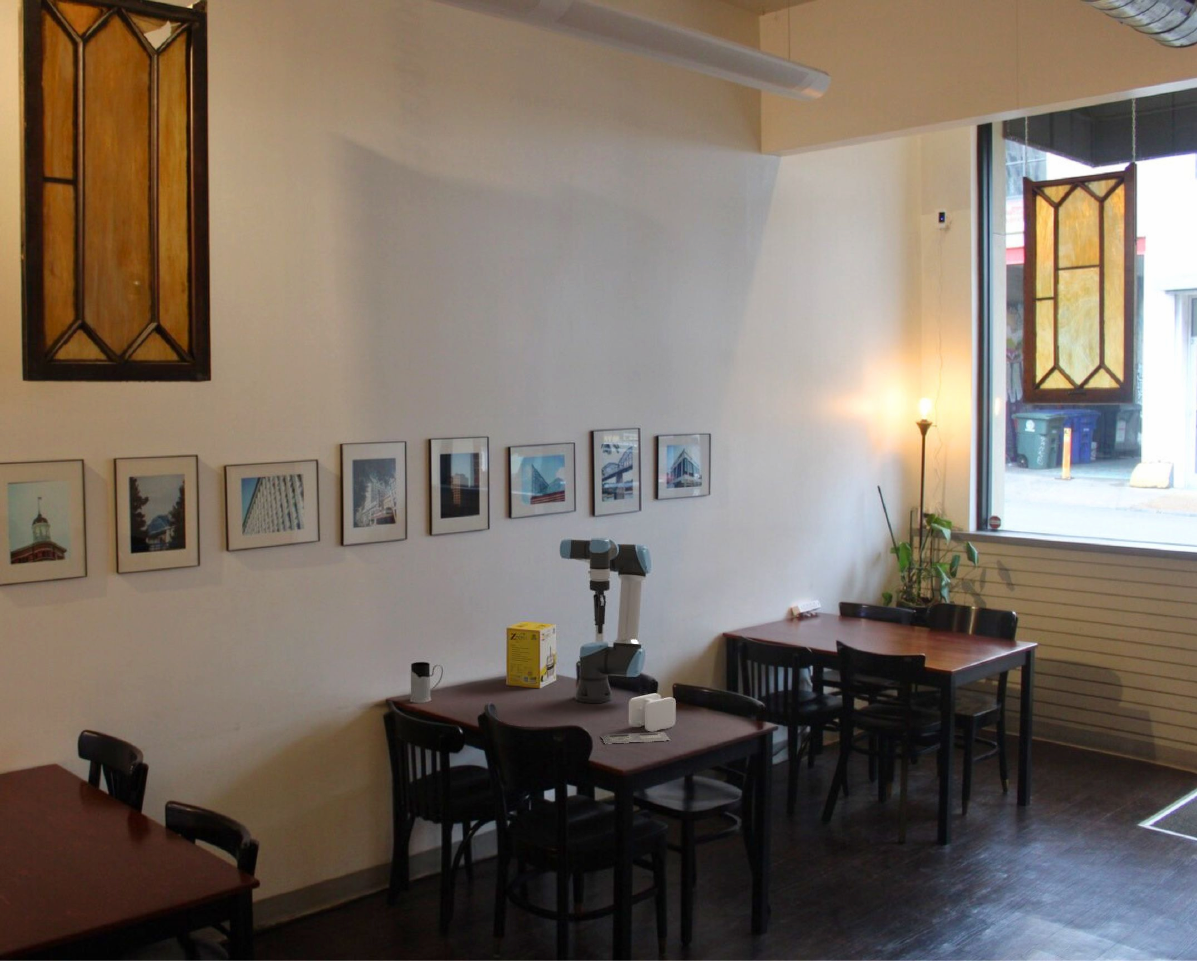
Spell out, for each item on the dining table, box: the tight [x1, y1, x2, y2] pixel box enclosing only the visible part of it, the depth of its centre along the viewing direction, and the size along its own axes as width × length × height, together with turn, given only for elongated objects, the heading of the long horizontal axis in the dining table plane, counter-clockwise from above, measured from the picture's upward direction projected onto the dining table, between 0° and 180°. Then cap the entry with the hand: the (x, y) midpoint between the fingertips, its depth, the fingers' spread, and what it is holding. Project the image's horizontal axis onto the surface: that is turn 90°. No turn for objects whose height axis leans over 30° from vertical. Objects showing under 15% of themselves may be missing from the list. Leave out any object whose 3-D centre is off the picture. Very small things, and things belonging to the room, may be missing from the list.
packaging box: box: [505, 621, 557, 689], centre depth 496 cm, size 16×16×25 cm
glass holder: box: [409, 661, 444, 704], centre depth 468 cm, size 9×14×15 cm, turn 121°
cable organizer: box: [628, 692, 677, 733], centre depth 428 cm, size 15×11×12 cm
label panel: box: [599, 731, 671, 745], centre depth 414 cm, size 10×24×1 cm, turn 100°
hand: (599, 641), depth 427 cm, fingers closed
